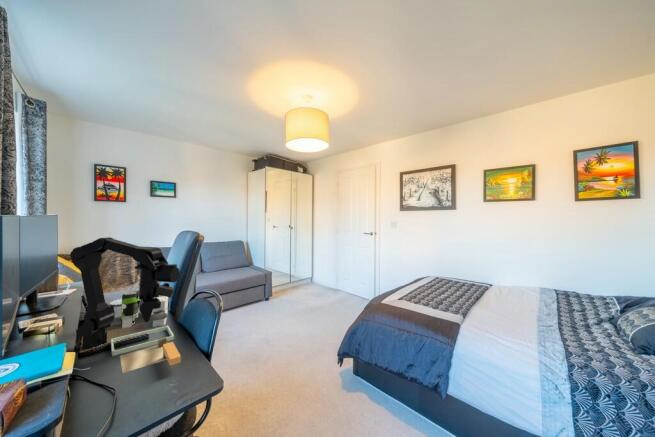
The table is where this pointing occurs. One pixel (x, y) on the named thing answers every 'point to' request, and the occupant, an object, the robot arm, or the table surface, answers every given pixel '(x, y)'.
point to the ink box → (161, 311)
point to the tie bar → (171, 353)
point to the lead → (141, 319)
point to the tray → (142, 343)
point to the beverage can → (129, 305)
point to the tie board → (143, 357)
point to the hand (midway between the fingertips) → (146, 321)
